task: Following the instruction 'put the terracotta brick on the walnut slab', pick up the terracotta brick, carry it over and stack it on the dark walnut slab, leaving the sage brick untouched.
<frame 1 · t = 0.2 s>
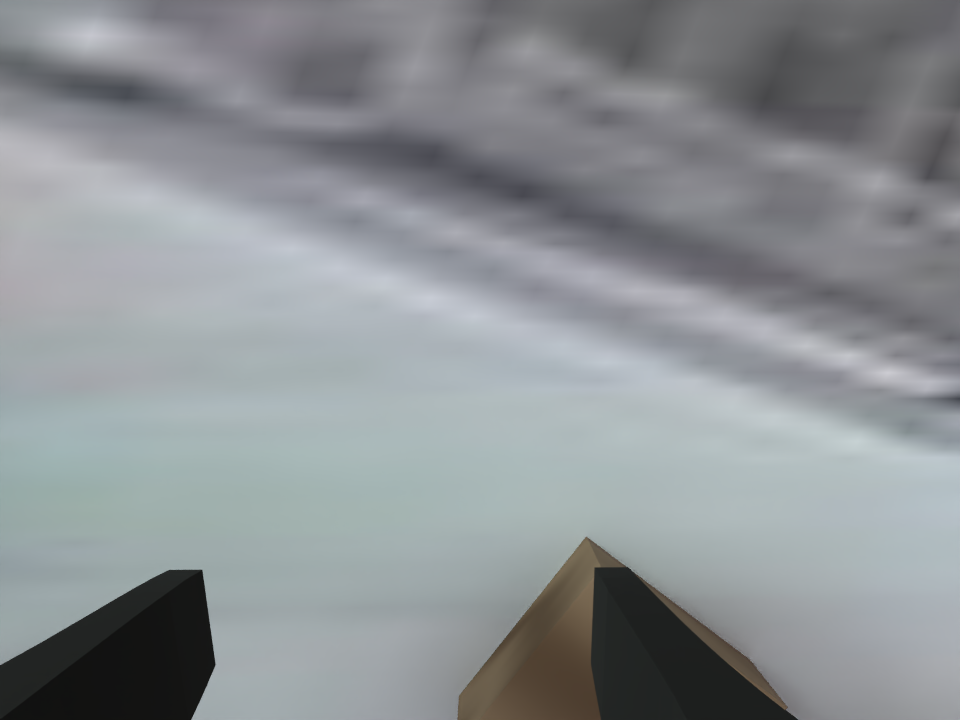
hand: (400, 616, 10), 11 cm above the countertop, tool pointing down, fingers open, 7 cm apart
walnut slab: (601, 671, 21), on the countertop
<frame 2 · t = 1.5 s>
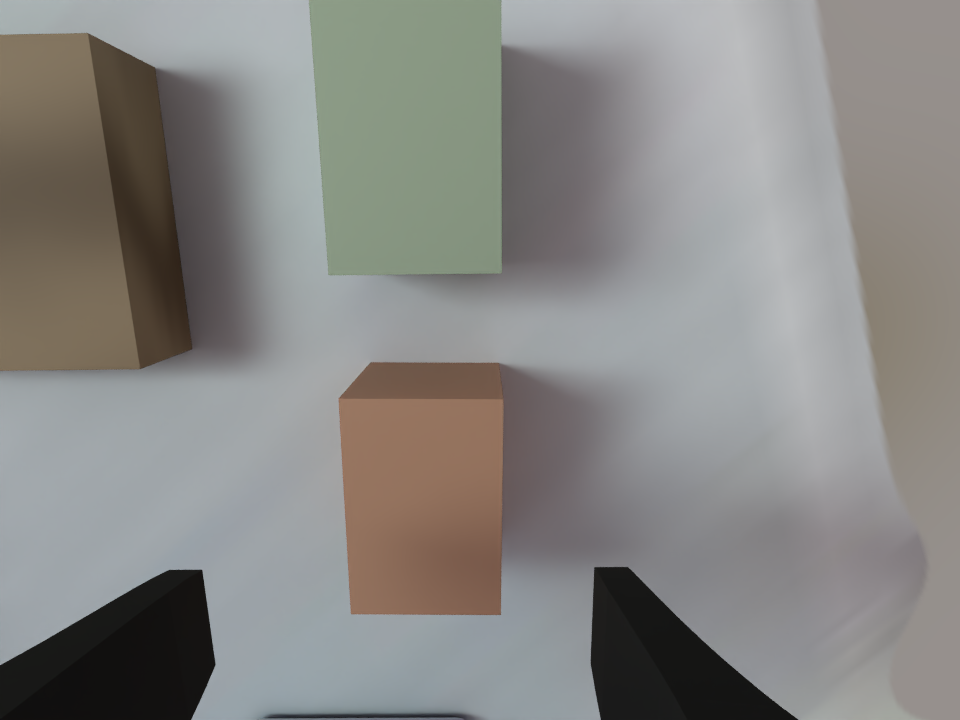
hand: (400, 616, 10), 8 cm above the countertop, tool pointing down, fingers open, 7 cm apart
terracotta brick: (436, 451, 18), on the countertop
sage brick: (427, 160, 16), on the countertop
walnut slab: (49, 218, 16), on the countertop
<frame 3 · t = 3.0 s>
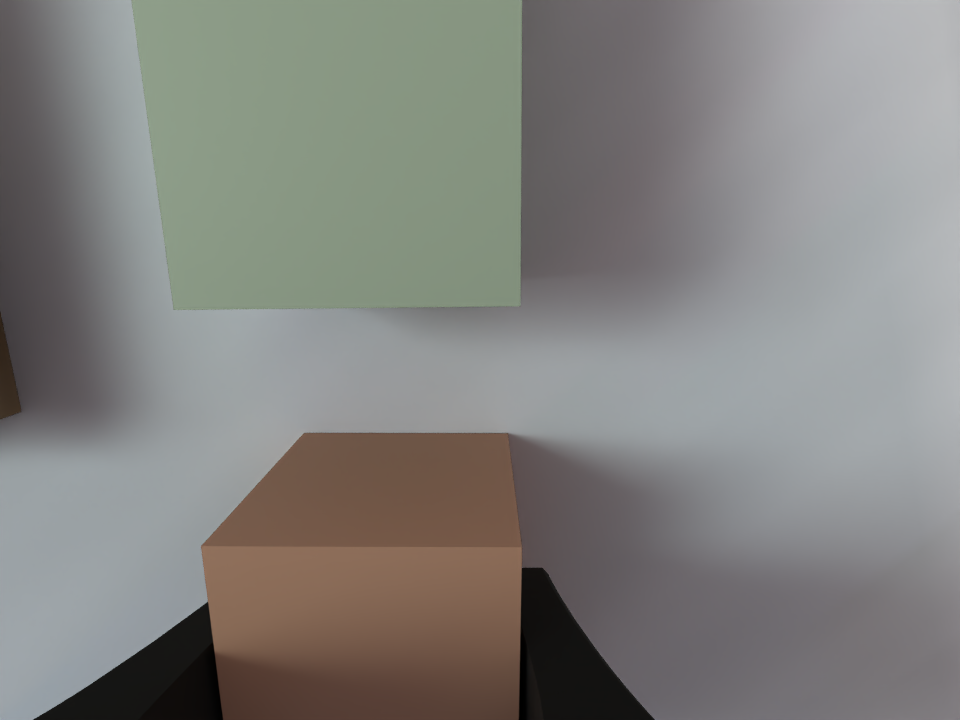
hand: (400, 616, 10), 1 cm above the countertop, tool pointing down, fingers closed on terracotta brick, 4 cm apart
terracotta brick: (410, 569, 11), on the countertop, touching gripper
sage brick: (391, 107, 10), on the countertop
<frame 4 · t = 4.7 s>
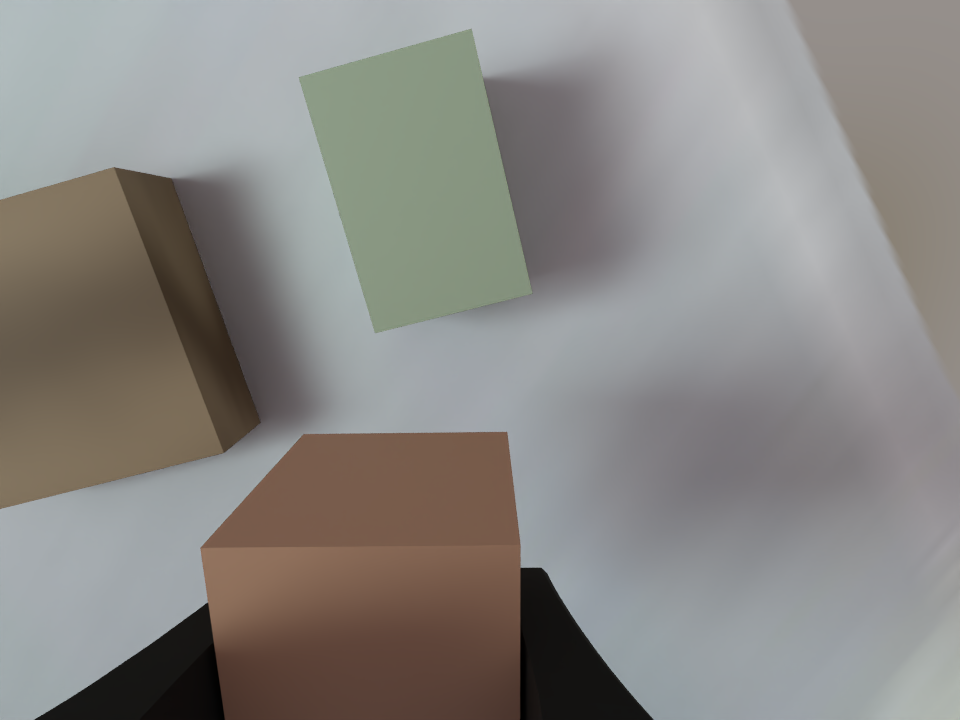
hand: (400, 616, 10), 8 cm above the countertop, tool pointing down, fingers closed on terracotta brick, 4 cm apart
terracotta brick: (411, 569, 11), point 7 cm above the countertop, touching gripper
sage brick: (434, 200, 17), on the countertop
walnut slab: (109, 335, 18), on the countertop
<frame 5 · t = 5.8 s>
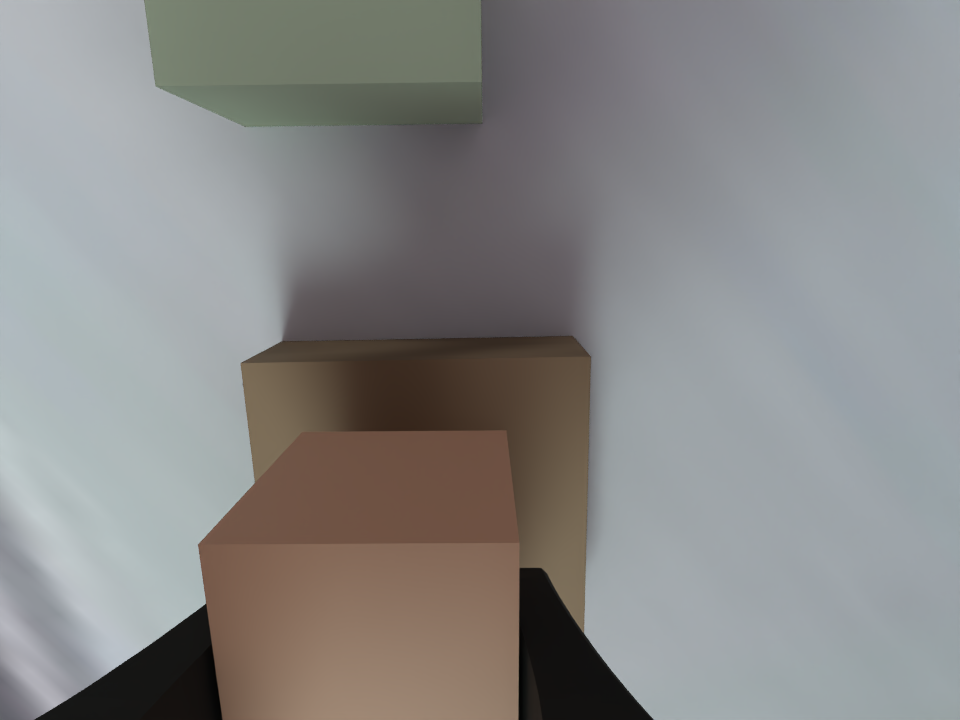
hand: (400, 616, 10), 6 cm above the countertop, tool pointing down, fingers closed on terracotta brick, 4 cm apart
terracotta brick: (410, 567, 11), point 5 cm above the countertop, touching gripper
sage brick: (359, 39, 13), on the countertop
walnut slab: (433, 468, 16), on the countertop
when the fingers open (5 cm above the countertop, at t = 6.7 s): terracotta brick drops 1 cm, resting on walnut slab.
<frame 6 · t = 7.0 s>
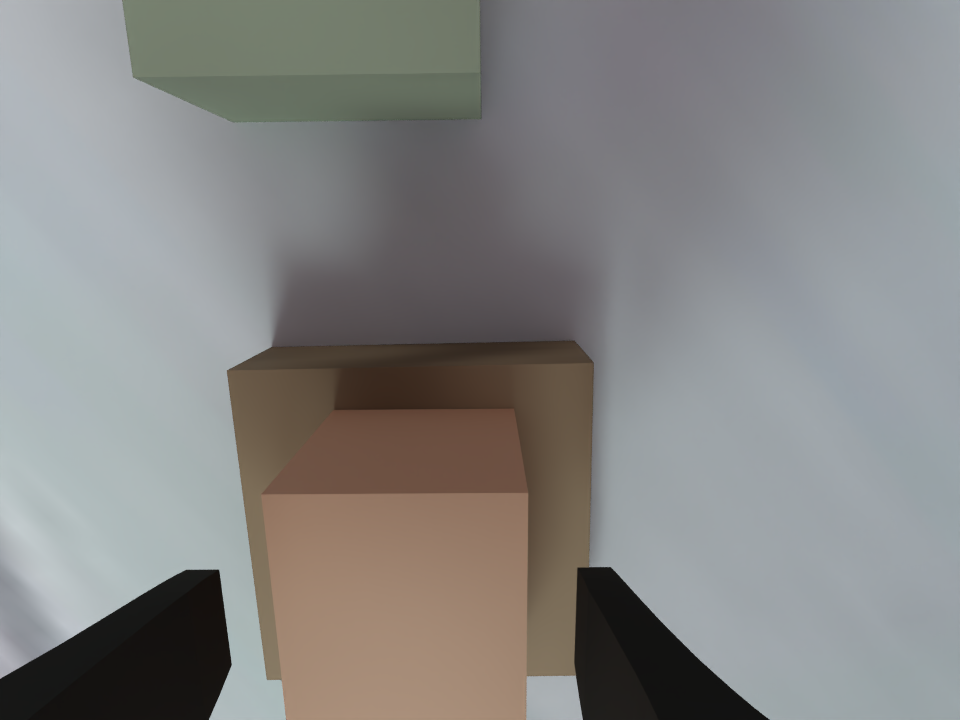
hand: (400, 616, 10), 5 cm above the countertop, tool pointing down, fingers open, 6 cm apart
terracotta brick: (428, 531, 13), point 3 cm above the countertop, touching walnut slab
sage brick: (352, 30, 13), on the countertop
walnut slab: (430, 477, 16), on the countertop, touching terracotta brick
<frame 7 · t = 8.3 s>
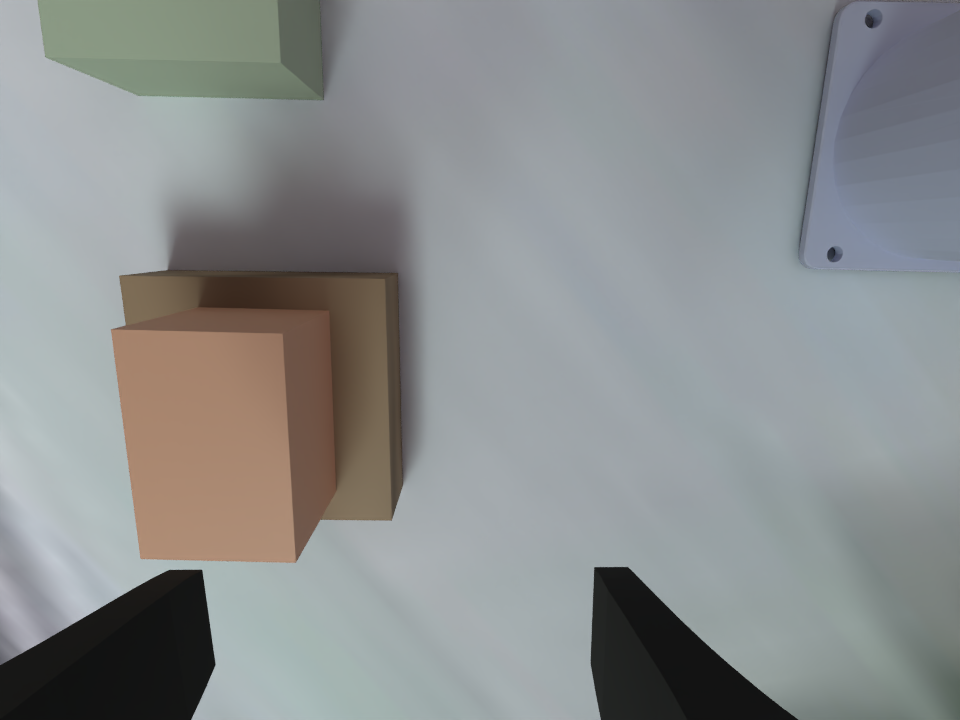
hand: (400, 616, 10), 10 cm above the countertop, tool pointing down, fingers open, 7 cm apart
terracotta brick: (269, 402, 17), point 3 cm above the countertop, touching walnut slab
sage brick: (228, 31, 17), on the countertop
walnut slab: (294, 379, 20), on the countertop, touching terracotta brick
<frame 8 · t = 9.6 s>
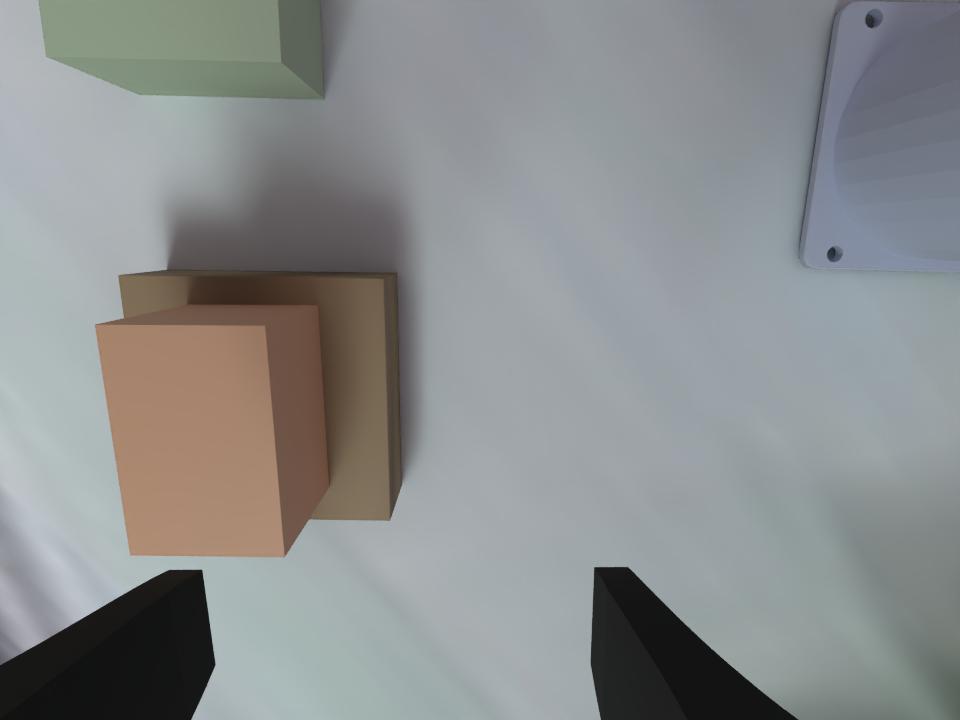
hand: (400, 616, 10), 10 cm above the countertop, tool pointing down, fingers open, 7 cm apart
terracotta brick: (260, 399, 17), point 3 cm above the countertop, touching walnut slab
sage brick: (228, 30, 17), on the countertop
walnut slab: (293, 379, 20), on the countertop, touching terracotta brick
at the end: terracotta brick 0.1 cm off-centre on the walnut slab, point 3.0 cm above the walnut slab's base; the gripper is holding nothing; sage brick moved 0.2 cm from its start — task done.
